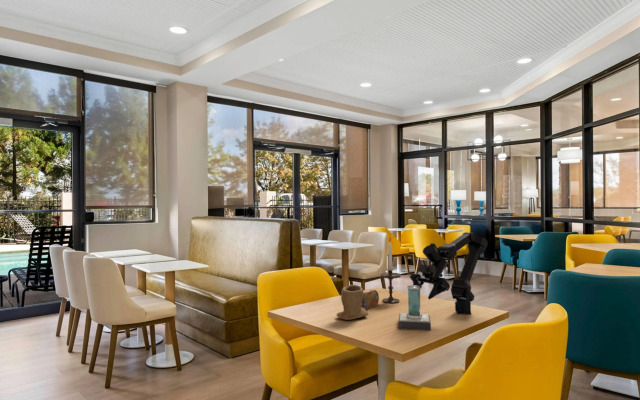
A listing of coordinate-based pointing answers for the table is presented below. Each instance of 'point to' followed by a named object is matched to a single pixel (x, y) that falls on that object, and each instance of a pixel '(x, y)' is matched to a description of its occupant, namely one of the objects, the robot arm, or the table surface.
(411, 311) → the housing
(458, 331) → the table surface
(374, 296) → the tin
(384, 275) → the candlestick
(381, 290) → the table surface
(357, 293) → the stone cup
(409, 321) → the stand
